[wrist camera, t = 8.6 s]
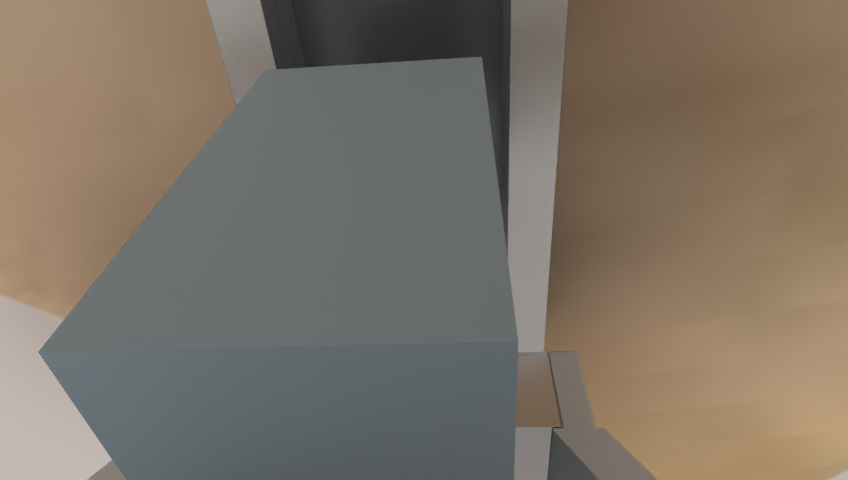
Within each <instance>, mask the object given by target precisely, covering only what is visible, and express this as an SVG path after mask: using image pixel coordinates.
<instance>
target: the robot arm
mask: <svg viewBox="0 0 848 480" xmlns="http://www.w3.org/2000/svg"><path fill="white" fill-rule="evenodd" d="M88 480H126V479H125V477H124V476H123V474H122V473H121V472H120V470H119V469H118V467H117V466H116V464H115V463H114V461H113V460H112V461H110V462H109V463H108V464H107V465H105V466H104V467H103V468H102V469H100V470H99V471H98V472H96V473H95V474H94V475H93V476H91V477H90V478H89V479H88ZM514 480H657V479H656V478H655V477H654V476H653V475H652V474H651V473H650V472H649V471H648V470H647V469H646V468H645V467H644V466H643V465H642V464H641V463H640V462H639V461H638V460H637V459H636V458H635V457H634V456H633V455H632V454H631V453H630V452H629V451H628V450H627V449H626V448H625V447H624V446H623V445H622V444H621V443H620V442H619V441H618V440H617V439H616V438H615V437H614V436H612V435H611V434H610V433H609V432H608V431H607V430H606V429H605V428H596V425H595V421H594V417H593V413H592V409H591V405H590V401H589V397H588V393H587V389H586V384H585V380H584V376H583V372H582V368H581V364H580V360H579V356H578V354H577V353H576V352H575V351H555V352H546V351H545V352H518V368H517V399H516V430H515V461H514Z"/></svg>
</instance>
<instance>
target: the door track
mask: <svg viewBox="0 0 848 480" xmlns="http://www.w3.org/2000/svg"><path fill="white" fill-rule="evenodd" d="M206 4H207V7H208V10H209V14H210V17H211V21H212V24H213V28H214V31H215V35H216V38H217V41H218V45H219V48H220V52H221V55H222V59H223V62H224V66H225V69H226V73H227V76H228V79H229V83H230V86H231V90H232V93H233V97H234V100H235V104H236V106H237V105H238V103H239V102H240V101H241V100H242V98H243V97H244V96H245V95H246V93H247V92H248V91H249V90H250V88H251V87H252V86H253V85H254V83H255V82H256V81H257V80H258V78H259V77H260V76H261V75H262V73H263V72H264V71H265V70H274V69H290V68H306V67H322V66H338V65H355V64H371V63H387V62H403V61H420V60H436V59H452V58H468V57H482V62H483V70H484V78H485V85H486V93H487V101H488V109H489V117H490V124H491V132H492V140H493V148H494V156H495V163H496V171H497V179H498V187H499V195H500V202H501V210H502V218H503V226H504V234H505V241H506V249H507V257H508V265H509V272H510V280H511V288H512V296H513V304H514V311H515V319H516V327H517V335H518V352H544V340H545V326H546V311H547V297H548V283H549V268H550V254H551V240H552V225H553V211H554V197H555V182H556V168H557V154H558V139H559V125H560V111H561V96H562V82H563V68H564V53H565V39H566V25H567V10H568V0H206Z"/></svg>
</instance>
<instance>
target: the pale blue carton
mask: <svg viewBox="0 0 848 480" xmlns="http://www.w3.org/2000/svg"><path fill="white" fill-rule="evenodd" d="M39 353H40V355H41V356H42V358H43V359H44V361H45V362H46V364H47V365H48V367H49V368H50V370H51V371H52V372H53V374H54V375H55V377H56V378H57V380H58V381H59V383H60V384H61V385H62V387H63V388H64V390H65V391H66V393H67V394H68V395H69V397H70V399H71V400H72V402H73V403H74V405H75V406H76V407H77V409H78V410H79V412H80V413H81V414H82V416H83V418H84V419H85V420H86V422H87V423H88V425H89V426H90V428H91V429H92V431H93V432H94V434H95V435H96V437H97V438H98V439H99V441H100V442H101V444H102V445H103V447H104V448H105V450H106V451H107V453H108V454H109V455H110V457H111V458H112V460H113V461H114V463H115V464H116V466H117V467H118V469H119V470H120V472H121V473H122V474H123V476H124V477H125V479H126V480H514V461H515V430H516V399H517V368H518V335H517V327H516V319H515V311H514V304H513V296H512V288H511V280H510V272H509V265H508V257H507V249H506V241H505V234H504V226H503V218H502V210H501V202H500V195H499V187H498V179H497V171H496V163H495V156H494V148H493V140H492V132H491V124H490V117H489V109H488V101H487V93H486V85H485V78H484V70H483V62H482V57H468V58H452V59H436V60H420V61H403V62H387V63H371V64H355V65H338V66H322V67H306V68H290V69H274V70H265V71H264V72H263V73H262V75H261V76H260V77H259V78H258V80H257V81H256V82H255V83H254V85H253V86H252V87H251V88H250V90H249V91H248V92H247V93H246V95H245V96H244V97H243V98H242V100H241V101H240V102H239V103H238V105H237V106H236V107H235V108H234V110H233V111H232V112H231V113H230V114H229V116H228V117H227V118H226V119H225V121H224V122H223V123H222V124H221V126H220V127H219V128H218V129H217V131H216V132H215V133H214V134H213V136H212V137H211V138H210V139H209V141H208V142H207V143H206V144H205V146H204V147H203V148H202V149H201V151H200V152H199V153H198V154H197V155H196V157H195V158H194V159H193V160H192V162H191V163H190V164H189V165H188V167H187V168H186V169H185V170H184V172H183V173H182V174H181V175H180V177H179V178H178V179H177V180H176V182H175V183H174V184H173V185H172V187H171V188H170V189H169V190H168V191H167V193H166V194H165V195H164V196H163V198H162V199H161V200H160V201H159V203H158V204H157V205H156V206H155V208H154V209H153V210H152V211H151V213H150V214H149V215H148V216H147V218H146V219H145V220H144V221H143V223H142V224H141V225H140V226H139V228H138V229H137V230H136V231H135V232H134V234H133V235H132V236H131V237H130V239H129V240H128V241H127V242H126V244H125V245H124V246H123V247H122V249H121V250H120V251H119V252H118V254H117V255H116V256H115V257H114V259H113V260H112V261H111V262H110V264H109V265H108V266H107V267H106V269H105V270H104V271H103V272H102V273H101V275H100V276H99V277H98V278H97V280H96V281H95V282H94V283H93V285H92V286H91V287H90V288H89V290H88V291H87V292H86V293H85V295H84V296H83V297H82V298H81V300H80V301H79V302H78V303H77V305H76V306H75V307H74V308H73V310H72V311H71V312H70V313H69V314H68V316H67V317H66V318H65V319H64V321H63V322H62V323H61V324H60V326H59V327H58V328H57V329H56V331H55V332H54V333H53V334H52V336H51V337H50V338H49V339H48V341H47V342H46V343H45V344H44V346H43V347H42V348H41V349H40V351H39Z"/></svg>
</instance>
